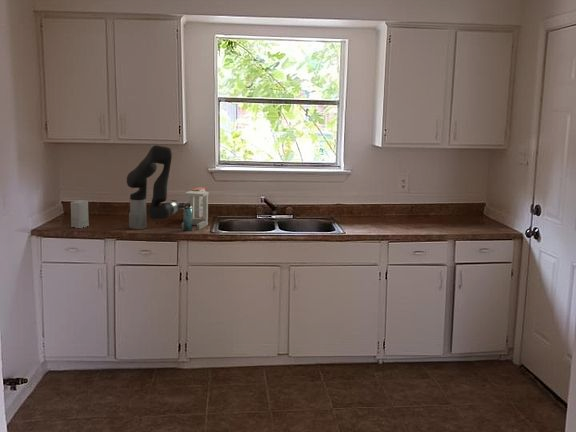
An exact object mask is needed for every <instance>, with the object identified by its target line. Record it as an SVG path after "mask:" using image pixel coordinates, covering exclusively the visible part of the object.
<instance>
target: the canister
mask: <svg viewBox="0 0 576 432" xmlns="http://www.w3.org/2000/svg"><path fill="white" fill-rule="evenodd" d="M183 222H184V228H183V231H185V232H190V231H193V225H192V206H190V208H189V209H185V208H184V209H183Z"/></svg>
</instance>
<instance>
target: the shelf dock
mask: <svg viewBox="0 0 576 432" xmlns="http://www.w3.org/2000/svg"><path fill="white" fill-rule="evenodd" d="M209 194H210V193H209V191H207V192H200V191H191V190H189V191H186V192H184V195H183V196H184V197H185V196H186V197H189V198H188V199H189V203H190V206H192V226H196V230H201V229H202V228H205V227H206V226H208V224H209V221H208V220H209ZM194 196H199V197H203V219H199V218H194ZM181 229H184V221H182V222H181Z"/></svg>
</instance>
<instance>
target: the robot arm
mask: <svg viewBox="0 0 576 432" xmlns="http://www.w3.org/2000/svg"><path fill="white" fill-rule="evenodd" d="M172 151H173V150H172V149H171V148H170V147H167V146H162V145H156V144H155V145H153V146H151V148H150V149H149V151H148V152H147V155H146V156H145V157H144V158H143V159H142V160H141V161H140V162H139V164H138V165H137V166H136V167H135V168H134V169H132V171H130V172H128V174H127V176H126V184H127V186H128V187H129V188H132V189H138V190H137V191H135V192H133V193H131V194H130V195H129V212H128V224H129V229H134V230H142V229H146V228H147V186H148V185H147V184H148V178H150V177H152V176H153V174H154V173H155V172H156V171H157V169H158V167H157V164H160V165H163V169H162V171H161V172H160V174H159V176H158V177H157V178H156V179H155V181H154V184H153V188H152V189H153V191H152V198H151V202H150V205H149V209H148V216H149V218H150V219H152V220H165V219H169V217H170V216H173V215H175V214H178V213H179V212H180V210H184V208H185V209H189V208H190V203H189V202H180V201H179V202H178V201H177V200H174V199H172V200H171V199H170V200H169V201H167V197H168V184H169V183H168V182H169V177H170V175H169V174H170V171H171V165H172V158H173V157H172V156H173V152H172ZM161 203H162V204H161Z"/></svg>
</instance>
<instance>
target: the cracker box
mask: <svg viewBox="0 0 576 432" xmlns="http://www.w3.org/2000/svg"><path fill="white" fill-rule="evenodd" d="M207 190H208V189H207V187H204V186H203V187H196V188H193V189H191V190H190V191H200V192H208V191H207ZM194 218H199V219H203V197H199V196H194Z"/></svg>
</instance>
